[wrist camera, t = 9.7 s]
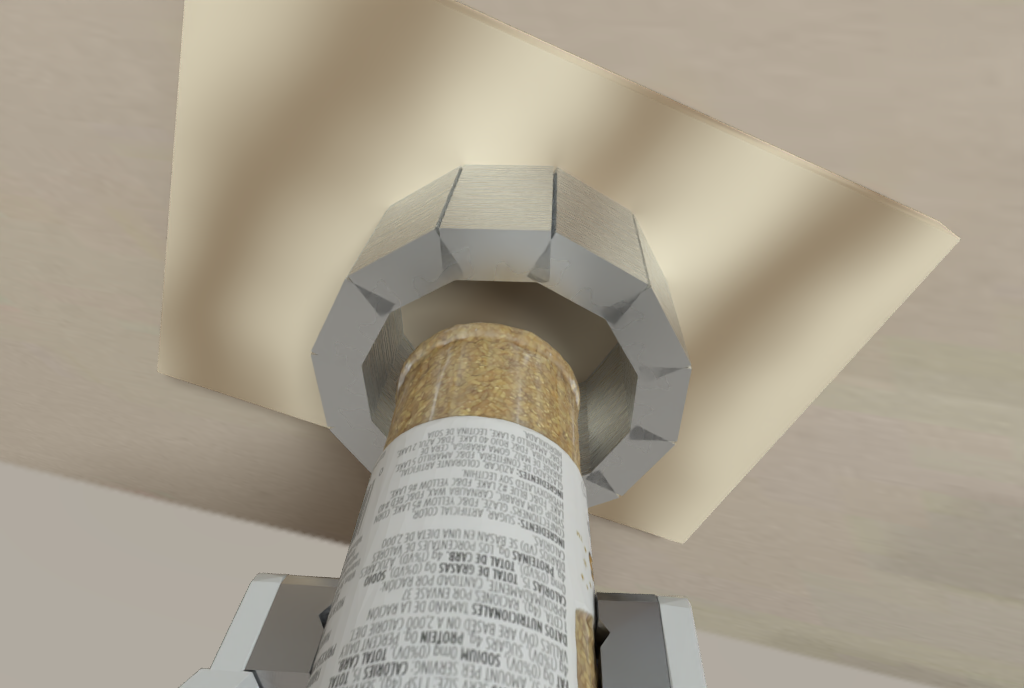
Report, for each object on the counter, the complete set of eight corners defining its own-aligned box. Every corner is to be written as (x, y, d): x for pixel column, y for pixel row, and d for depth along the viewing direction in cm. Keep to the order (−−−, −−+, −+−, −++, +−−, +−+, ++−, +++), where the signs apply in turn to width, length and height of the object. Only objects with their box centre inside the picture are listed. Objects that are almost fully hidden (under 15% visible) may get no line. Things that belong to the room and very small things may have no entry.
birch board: (937, 221, 17) (961, 238, 16) (678, 519, 25) (682, 544, 24) (218, -107, 14) (192, -110, 13) (175, 351, 22) (157, 371, 21)
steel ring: (685, 168, 16) (718, 234, 12) (644, 431, 21) (659, 528, 17) (337, 162, 16) (280, 224, 13) (380, 420, 21) (347, 512, 18)
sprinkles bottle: (540, 474, 17) (544, 1536, 6) (377, 428, 16) (24, 1551, 5) (612, 347, 14) (862, 1781, 3) (424, 284, 14) (-73, 1879, 3)
